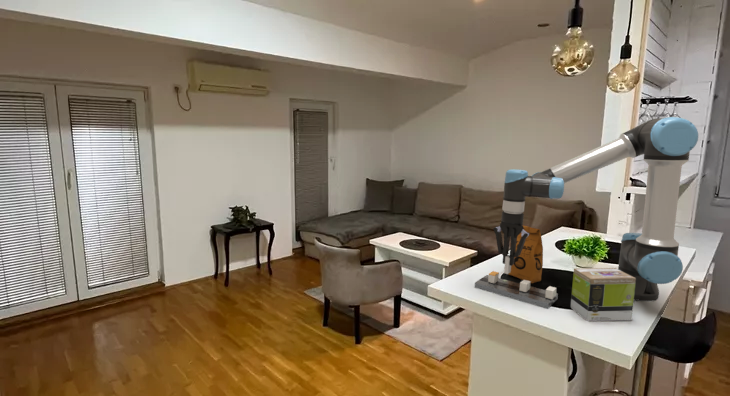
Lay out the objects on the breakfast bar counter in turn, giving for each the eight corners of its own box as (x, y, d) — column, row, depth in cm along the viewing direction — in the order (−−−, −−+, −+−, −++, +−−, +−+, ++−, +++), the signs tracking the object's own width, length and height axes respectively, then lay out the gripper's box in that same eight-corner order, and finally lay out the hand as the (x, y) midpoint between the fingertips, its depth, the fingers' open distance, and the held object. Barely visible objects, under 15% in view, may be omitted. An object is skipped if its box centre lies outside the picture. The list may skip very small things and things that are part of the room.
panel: (560, 299, 140) (560, 294, 140) (551, 309, 132) (551, 303, 132) (486, 279, 158) (486, 274, 158) (474, 287, 150) (474, 282, 150)
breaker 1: (498, 280, 151) (498, 272, 151) (494, 283, 148) (494, 275, 148) (492, 279, 153) (492, 271, 152) (488, 281, 150) (488, 273, 149)
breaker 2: (529, 288, 144) (530, 281, 143) (526, 292, 141) (526, 284, 140) (523, 287, 145) (523, 279, 145) (519, 290, 142) (520, 282, 142)
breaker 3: (555, 295, 138) (556, 287, 137) (552, 299, 135) (553, 291, 134) (548, 294, 139) (549, 286, 139) (545, 297, 136) (545, 289, 136)
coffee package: (530, 285, 153) (535, 231, 149) (504, 275, 163) (508, 224, 159) (545, 280, 158) (550, 228, 154) (519, 271, 168) (523, 222, 165)
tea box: (611, 307, 134) (616, 266, 132) (632, 321, 125) (638, 278, 122) (568, 307, 134) (573, 266, 131) (586, 321, 124) (591, 278, 121)
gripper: (534, 213, 141) (528, 274, 145) (499, 207, 149) (494, 266, 153) (527, 216, 135) (521, 280, 139) (491, 210, 144) (486, 270, 148)
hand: (507, 272), depth 146 cm, fingers closed
